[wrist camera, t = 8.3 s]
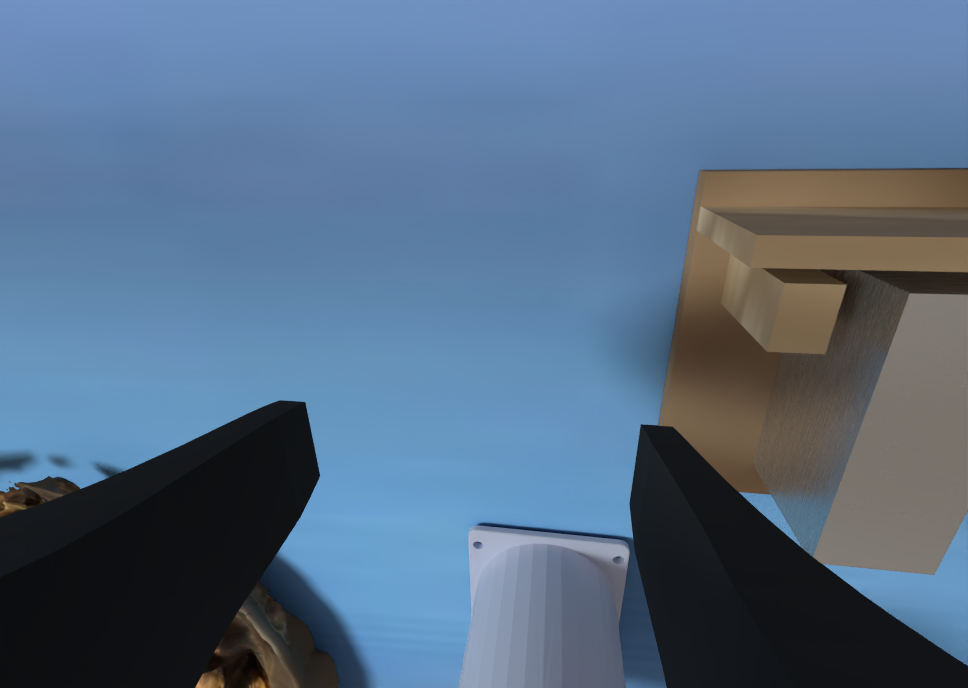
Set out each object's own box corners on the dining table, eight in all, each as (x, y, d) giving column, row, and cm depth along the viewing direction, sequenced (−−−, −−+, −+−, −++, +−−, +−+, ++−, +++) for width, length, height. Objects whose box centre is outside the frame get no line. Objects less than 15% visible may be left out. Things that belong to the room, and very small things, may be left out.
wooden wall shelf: (919, 494, 20) (1050, 624, 14) (650, 472, 21) (680, 583, 16) (1073, 167, 14) (1366, 185, 9) (699, 170, 16) (768, 187, 11)
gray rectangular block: (844, 469, 19) (934, 574, 14) (752, 463, 19) (810, 562, 15) (925, 249, 15) (1079, 297, 11) (809, 247, 16) (909, 293, 11)
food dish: (-159, 520, 35) (-342, 612, 28) (112, 342, 25) (-66, 415, 18) (151, 791, 44) (72, 913, 37) (441, 740, 34) (409, 894, 27)
